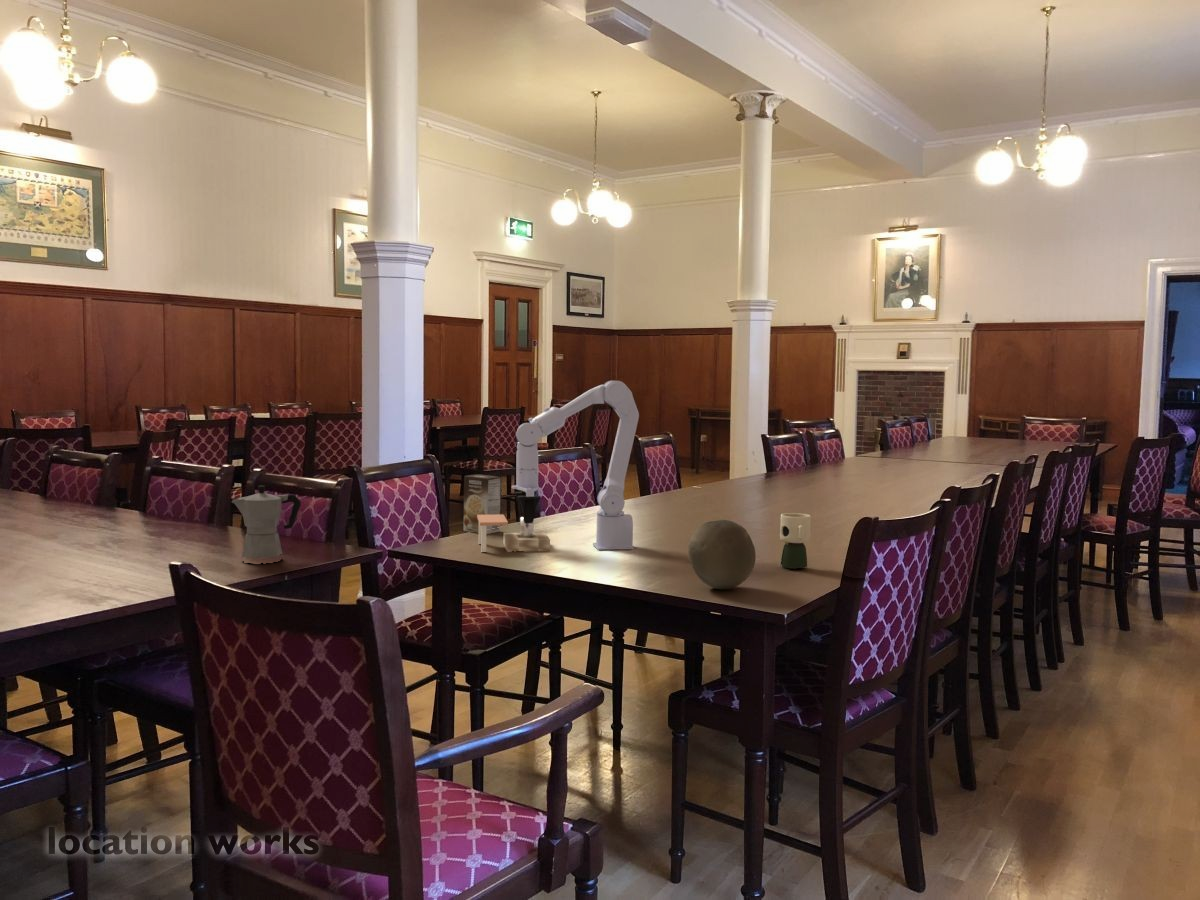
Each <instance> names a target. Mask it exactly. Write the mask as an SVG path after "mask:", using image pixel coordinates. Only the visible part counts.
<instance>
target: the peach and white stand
mask: <svg viewBox="0 0 1200 900" xmlns="http://www.w3.org/2000/svg"><path fill="white" fill-rule="evenodd" d="M477 519H478V521H479V533H478V545H479V544H481V545H480V546H481V547H480V552H486V553H487V534H486V526H492V525H500V526H508V524H509V521H508V520H507V518H506V517H505V515H504V514H501V513H500V515H477Z"/></svg>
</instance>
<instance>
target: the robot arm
mask: <svg viewBox="0 0 1200 900" xmlns="http://www.w3.org/2000/svg"><path fill="white" fill-rule="evenodd" d="M606 403H607V404H608V405H609V406H611V407H612V408H613V410H614V411H615V413H616V414H617V416H618V417H619V422H618V425H617V431H616V434H615V440H614V444H613V447H612V448H613V449H612V453H611V457H610V461H609V466H608V471H607V474H606V478H605V480H604V482H603V487H602V488H601V490H600V491H599V492H598V494H597V497H596V499H597V503H598V506H599V509H598V510H597V511H596V537H595V539H596V542H592V545H593V546H594V547H595V548H596V549H597V550H599V551H600V550H603V551H605V550H607V551H608V550H609V551H610V550H633V549H634V546H633V544H634V543H633V540H634V539H633V538H634V537H633V536H634V520H633V516H632V514H630V513H629V514H628V513H627V514H626V513H625V511H623V509H624V508H625V497H624V493H625V492H624V491H625V481H626V476H627V471H628V466H629V462H630V457H631V454H632V448H633V445H634V439H635V436H636V432H637V427H638V423H639V418H640V413H639V412H640V411H639V410H638V408H637V404H636V402H635V399H634V396H633V392H632V391H631V390H630V388H629V387H628V386H627V384H625V382H623V381H620V380H608V381H606V382H604V384H600V385H597V386H595V387H593V388H590V389H589V390H587V391H585V392H583V393H582V394H581V395H579V396H577V397H576V398H574V399H573V400H571V401H569V402H568V403H566V404H564V405H563V406H562V407H560V408H559V407H556V406H551V407H550V408H549V406H547V407H545V408H544V409H543V412H541V413H540V414H537V415H536V416H535V417H529V418H528V422H524V423H522V424H520V425H519V426H518V428H517V430H516V433H515V437H516V439H517V443H516V444H517V445H516V449H517V450H516V460H515V461H516V464H515V465H516V468H515V469H516V474H515V475H516V477H515V480H516V481H515V483H516V484H515V485H511V489H513V490H514V489H515V490H518V491H514V495H515V497H516V500H517V502H518V507H519V514H520V517H523V519H524V523H533V520H534V518H535V515H536V509H537V506H538V504H539V501H540V500H541V496H536V495H537V491H538V490H540V486H539V451H538V443H539V440H540V438H546V437H547V436H549V435H550V434H552V433H554V432H555V431H557V430H559V429H561V428H562V427H564V426H565V423H566V420H567V418H570V417H571V416H573V415H575V414H577V413H578V412H581V411H582V410H584V409H586V408H588V407H590V406H591V405H598V404H599V405H600V404H606ZM534 521H535V520H534Z"/></svg>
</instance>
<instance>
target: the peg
mask: <svg viewBox="0 0 1200 900" xmlns="http://www.w3.org/2000/svg"><path fill="white" fill-rule="evenodd" d="M534 521H535V520H533V523H524V519H523V517H521V516H520V517H519V533H520V538H533V536H534V532H535V531H534V529H535V528H534V527H535V526H534Z"/></svg>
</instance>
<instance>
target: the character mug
mask: <svg viewBox="0 0 1200 900" xmlns="http://www.w3.org/2000/svg"><path fill="white" fill-rule="evenodd" d="M811 522H812V516H811V515H810V514H808V513H798V512H784V513H781V514H780V525H779V526H780V527H779V530H780V531H779V539H780V541H782V542H784V543H785V544H784V545H783V549H782V554H781V559H780V566H781V567H782V568H786V569H794V568H795V569H796V570H797V569H798V568H802V569H803V568H808V553H807V548H806V545H805V543H809V542H810V541H811V527H812V526H811ZM795 569H794V570H795Z"/></svg>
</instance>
